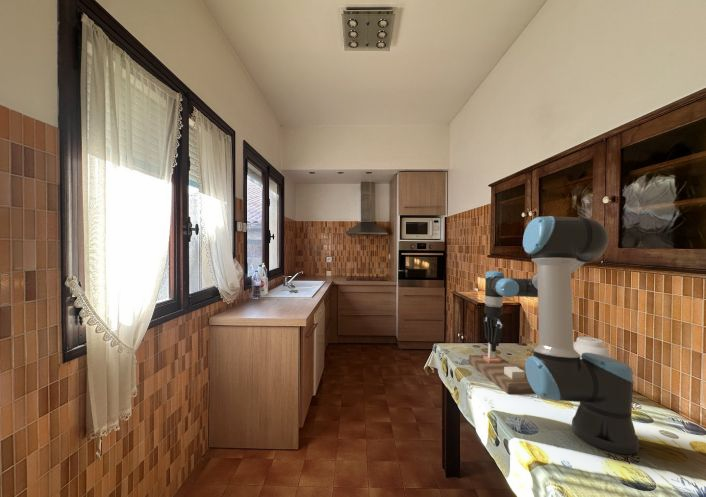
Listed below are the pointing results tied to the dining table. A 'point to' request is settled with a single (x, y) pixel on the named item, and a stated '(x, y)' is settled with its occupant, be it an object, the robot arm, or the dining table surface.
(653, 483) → the dining table surface
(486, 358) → the orange block
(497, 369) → the wooden board
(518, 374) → the cream block
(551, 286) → the robot arm
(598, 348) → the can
